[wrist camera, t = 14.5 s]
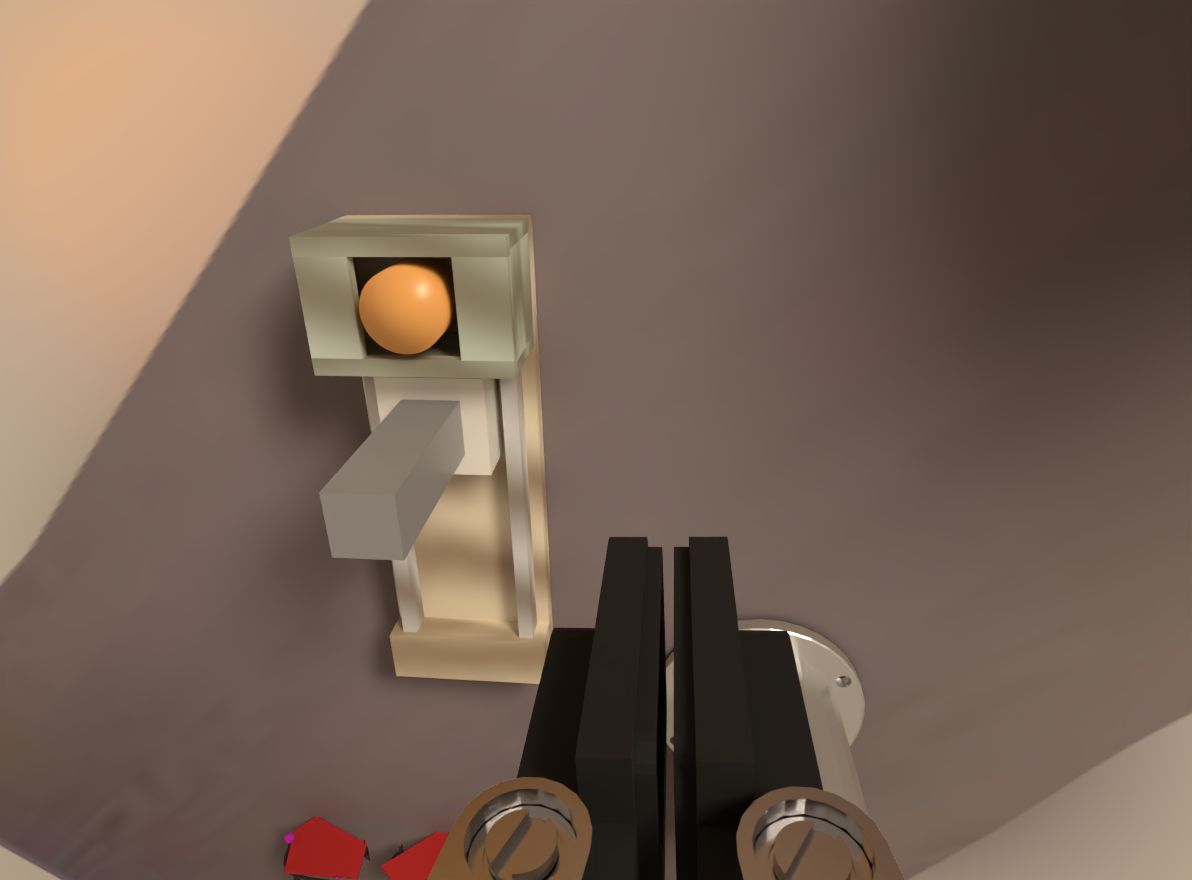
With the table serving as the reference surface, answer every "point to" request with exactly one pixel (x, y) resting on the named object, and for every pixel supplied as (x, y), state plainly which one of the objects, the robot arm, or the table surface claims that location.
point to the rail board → (470, 502)
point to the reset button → (409, 304)
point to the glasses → (352, 854)
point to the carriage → (410, 462)
